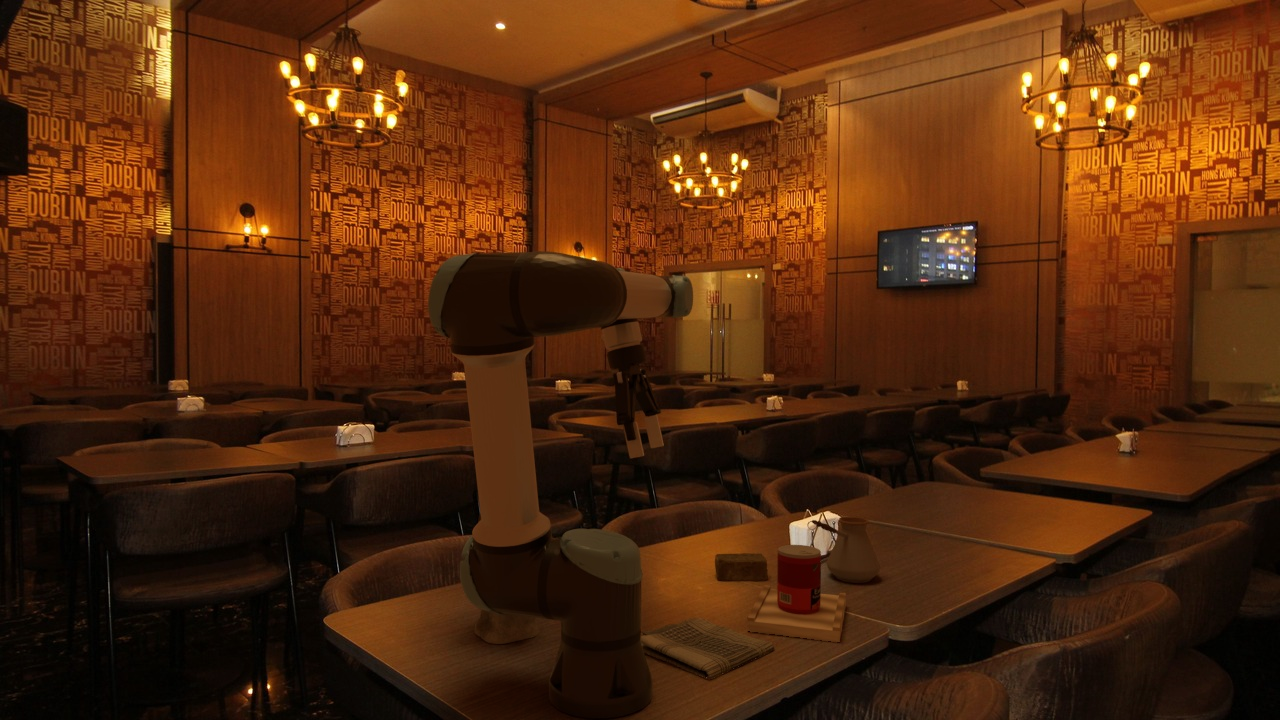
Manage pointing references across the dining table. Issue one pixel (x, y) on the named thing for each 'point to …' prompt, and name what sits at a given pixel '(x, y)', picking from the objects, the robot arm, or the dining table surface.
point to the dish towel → (703, 647)
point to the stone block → (741, 567)
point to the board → (798, 618)
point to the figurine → (504, 626)
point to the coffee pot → (851, 551)
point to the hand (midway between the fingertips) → (647, 452)
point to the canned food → (799, 579)
